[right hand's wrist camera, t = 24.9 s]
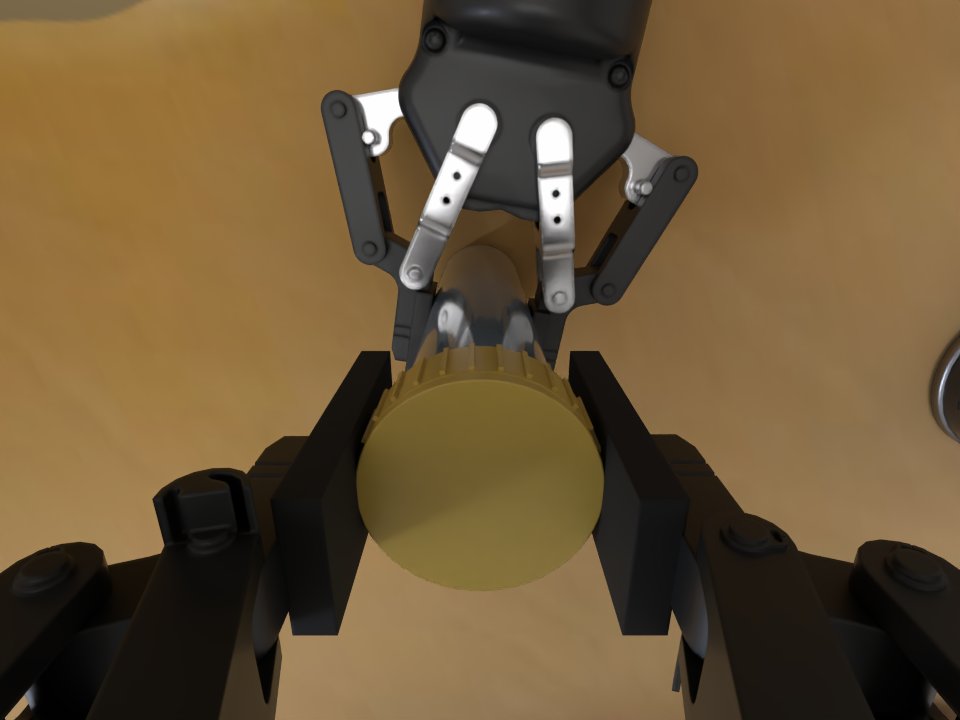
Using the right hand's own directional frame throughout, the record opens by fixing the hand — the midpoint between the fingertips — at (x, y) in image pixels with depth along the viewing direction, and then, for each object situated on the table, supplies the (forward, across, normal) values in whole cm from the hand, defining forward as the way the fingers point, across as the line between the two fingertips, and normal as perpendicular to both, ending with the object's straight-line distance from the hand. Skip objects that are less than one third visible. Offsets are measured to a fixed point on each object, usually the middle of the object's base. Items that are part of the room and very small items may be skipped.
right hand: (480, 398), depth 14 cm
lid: (-4, 0, 0) cm, 4 cm away
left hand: (+8, 0, -3) cm, 8 cm away
